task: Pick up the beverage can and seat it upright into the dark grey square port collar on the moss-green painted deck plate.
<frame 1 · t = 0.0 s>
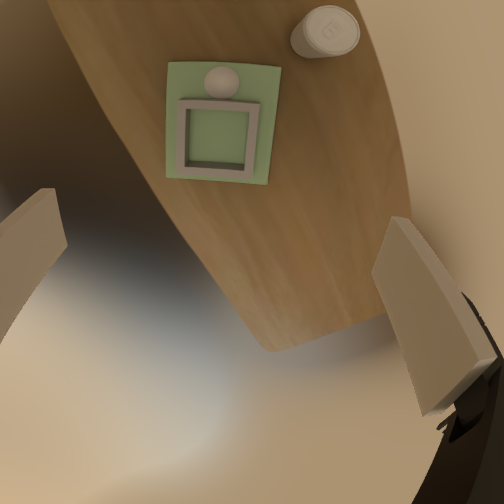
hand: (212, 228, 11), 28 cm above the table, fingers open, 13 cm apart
beverage can: (309, 40, 28), on the table
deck: (220, 120, 34), on the table
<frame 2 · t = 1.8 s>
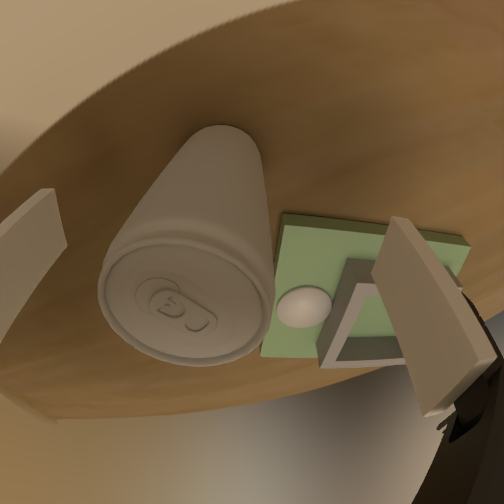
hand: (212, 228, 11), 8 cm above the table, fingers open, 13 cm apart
beverage can: (221, 161, 17), on the table
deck: (361, 295, 23), on the table
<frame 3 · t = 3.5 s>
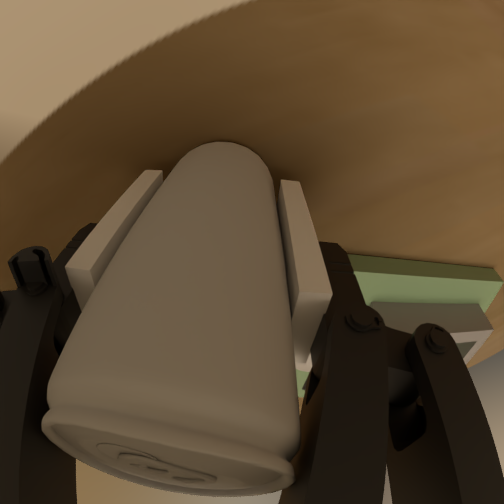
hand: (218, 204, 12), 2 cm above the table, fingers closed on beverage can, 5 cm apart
beverage can: (223, 186, 14), on the table, touching gripper
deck: (380, 333, 20), on the table
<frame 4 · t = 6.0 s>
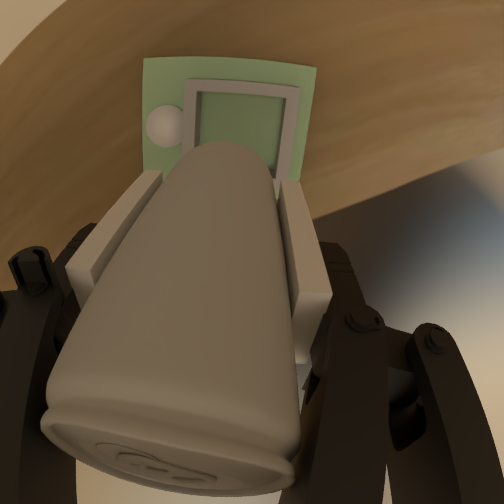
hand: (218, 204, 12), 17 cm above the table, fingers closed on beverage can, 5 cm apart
beverage can: (223, 185, 14), point 15 cm above the table, touching gripper
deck: (224, 124, 26), on the table
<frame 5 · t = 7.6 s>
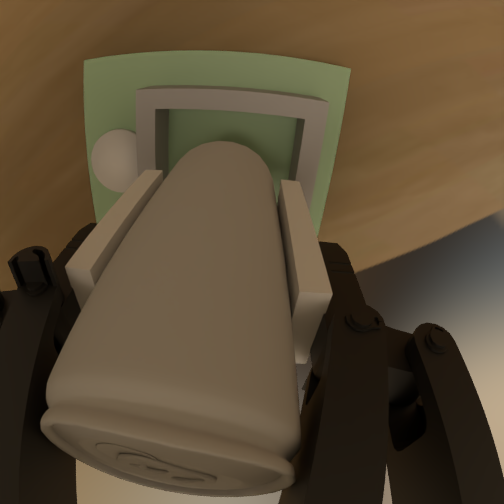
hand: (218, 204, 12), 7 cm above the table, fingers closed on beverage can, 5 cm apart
beverage can: (223, 185, 14), point 5 cm above the table, touching gripper
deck: (206, 155, 18), on the table
when the fingers open (5 cm above the table, at t = 8.7 s): beverage can drops 2 cm, resting on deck.
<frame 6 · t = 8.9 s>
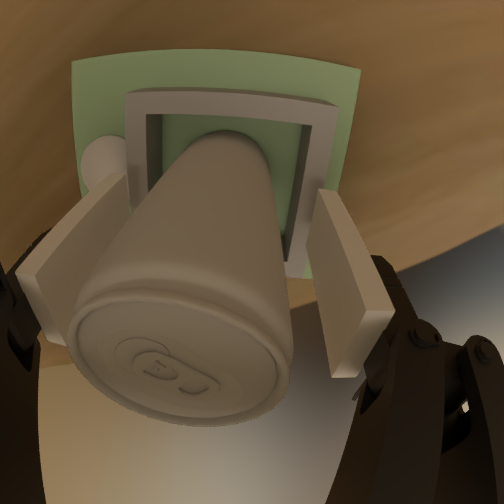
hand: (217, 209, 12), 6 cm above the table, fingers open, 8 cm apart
beverage can: (225, 171, 16), point 1 cm above the table, touching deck
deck: (203, 162, 17), on the table
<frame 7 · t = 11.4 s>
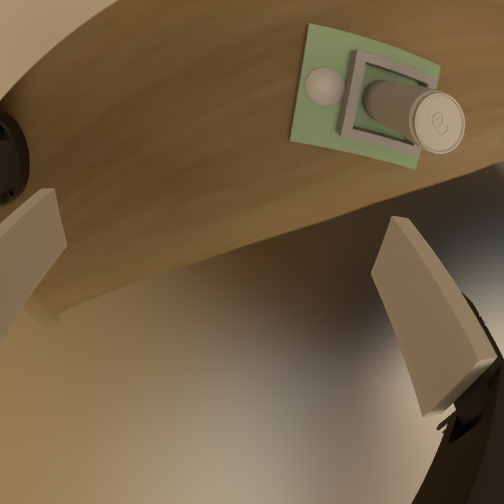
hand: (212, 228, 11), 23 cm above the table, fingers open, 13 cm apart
beverage can: (382, 101, 26), point 1 cm above the table, touching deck
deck: (366, 96, 27), on the table
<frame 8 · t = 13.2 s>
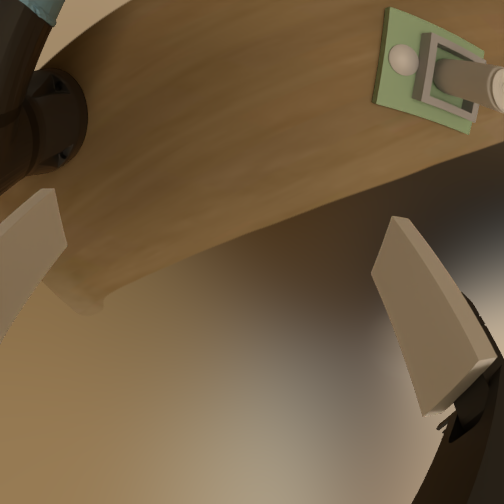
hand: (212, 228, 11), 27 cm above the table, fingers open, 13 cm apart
beverage can: (444, 76, 27), point 1 cm above the table, touching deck
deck: (430, 71, 28), on the table
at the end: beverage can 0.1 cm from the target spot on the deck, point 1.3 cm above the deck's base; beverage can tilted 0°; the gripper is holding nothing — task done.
